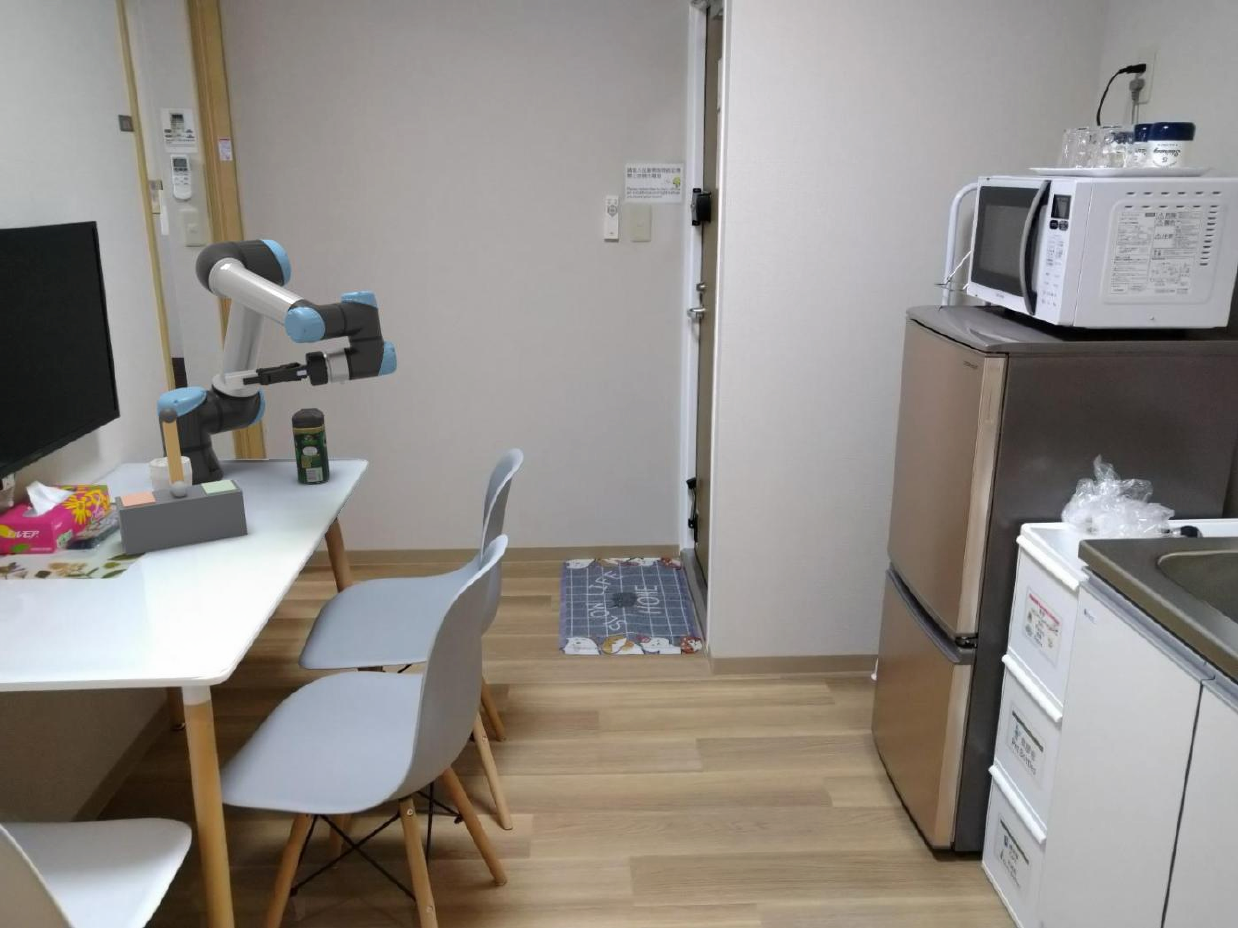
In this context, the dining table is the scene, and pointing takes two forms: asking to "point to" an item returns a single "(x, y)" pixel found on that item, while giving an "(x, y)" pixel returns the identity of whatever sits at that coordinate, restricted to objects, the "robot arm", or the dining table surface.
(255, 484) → the dining table surface
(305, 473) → the coffee jar
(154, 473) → the cup
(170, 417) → the lever
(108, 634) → the dining table surface
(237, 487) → the breaker box
